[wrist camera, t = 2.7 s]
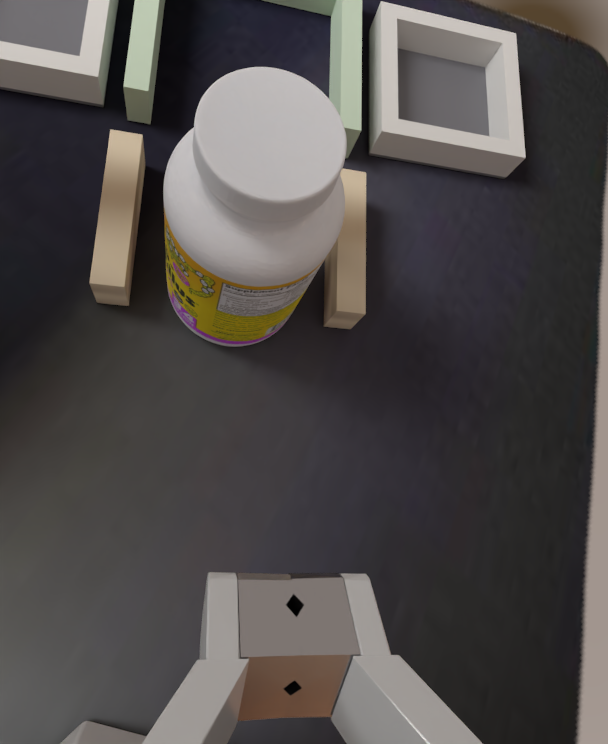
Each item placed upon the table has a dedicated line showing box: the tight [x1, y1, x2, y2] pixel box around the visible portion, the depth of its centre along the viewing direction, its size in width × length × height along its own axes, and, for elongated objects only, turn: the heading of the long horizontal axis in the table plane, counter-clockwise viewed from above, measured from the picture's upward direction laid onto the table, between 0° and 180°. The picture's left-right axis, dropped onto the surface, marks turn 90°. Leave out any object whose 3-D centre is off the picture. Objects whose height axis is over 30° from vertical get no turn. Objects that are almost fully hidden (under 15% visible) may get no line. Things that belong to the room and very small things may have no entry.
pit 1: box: [0, 0, 119, 107], centre depth 28 cm, size 9×9×2 cm
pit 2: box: [368, 1, 526, 179], centre depth 33 cm, size 9×9×2 cm
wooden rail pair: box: [89, 129, 366, 329], centre depth 28 cm, size 8×13×2 cm, turn 88°
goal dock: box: [123, 0, 362, 158], centre depth 31 cm, size 11×12×2 cm
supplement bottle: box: [163, 67, 347, 347], centre depth 22 cm, size 7×7×13 cm
